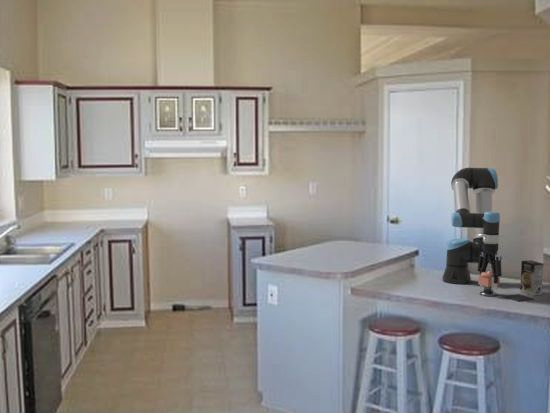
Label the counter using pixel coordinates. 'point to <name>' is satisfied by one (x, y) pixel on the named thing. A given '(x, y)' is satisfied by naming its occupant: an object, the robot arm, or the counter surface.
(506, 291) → the counter surface
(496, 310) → the counter surface
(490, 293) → the post
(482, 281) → the cap
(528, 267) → the coffee box
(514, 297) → the dark grey square plate
